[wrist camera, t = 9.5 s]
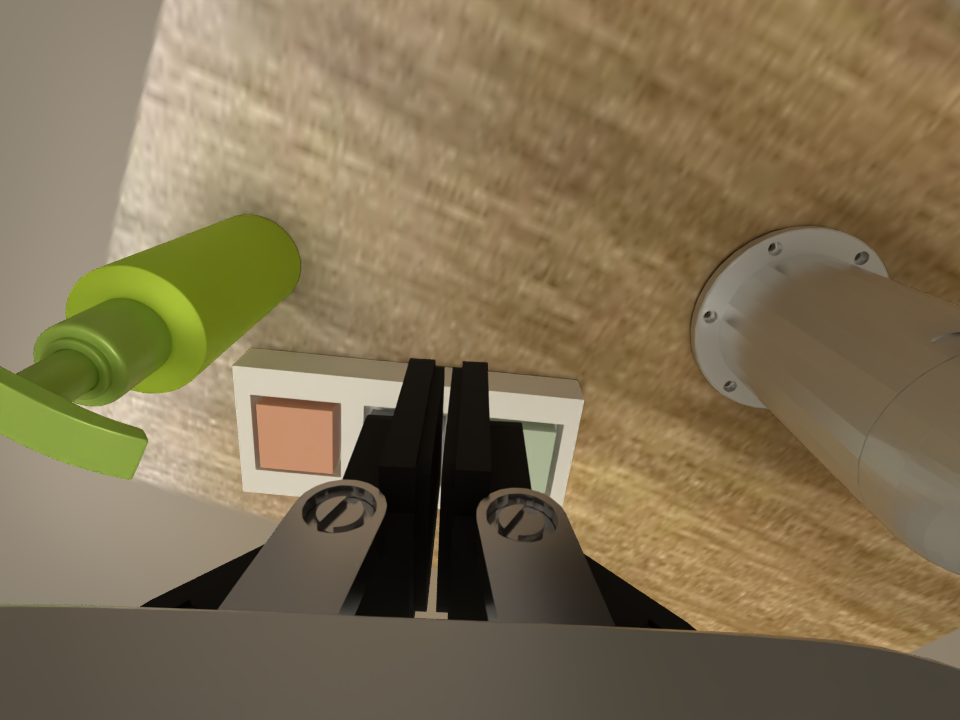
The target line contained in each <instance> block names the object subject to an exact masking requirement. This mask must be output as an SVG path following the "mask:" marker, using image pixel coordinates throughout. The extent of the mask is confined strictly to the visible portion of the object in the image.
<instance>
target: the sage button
mask: <svg viewBox="0 0 960 720" xmlns="http://www.w3.org/2000/svg"><path fill="white" fill-rule="evenodd" d="M490 421H507V422H521V423H522V426H523V432H524V439H525V446H526V453H527V460H528V467H529V474H530V481H531V488H532V490H534V491H538V492H541V493H545V490H546V485H547V480H548V474H549V469H550V464H551V459H552V453H553V448H554V443H555V438H556V429H555V425H554V424H552V423H541V422H531V421H520V420H510V419H500V418H490Z"/></svg>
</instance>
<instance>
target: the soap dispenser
mask: <svg viewBox="0 0 960 720" xmlns="http://www.w3.org/2000/svg"><path fill="white" fill-rule="evenodd" d="M300 270H301V264H300V257H299V253H298V251H297V248H296V246H295V244H294V242H293V241H292V239H291V238H290V236H289V235H288V234H287V233H286V232H285V231H284V230H283V229H282V228H281V227H280V226H278V225H277V224H275V223H274V222H272V221H270V220H268V219H266V218H263V217H260V216H256V215H239V216H235V217H232V218H229V219H226V220H224V221H221V222H219V223H216V224H213V225H211V226H208V227H205V228H203V229H200V230H197V231H195V232H192V233H189V234H187V235H184V236H182V237H179V238H176V239H174V240H171V241H168V242H166V243H163V244H160V245H158V246H155V247H152V248H150V249H147V250H145V251H142V252H139V253H137V254H134V255H131V256H129V257H126V258H123V259H121V260H118V261H115V262H113V263H110V264H107V265H105V266H103V267H100V268H97V269H95V270H92V271H90V272H89V273H87V274H85V275H84V276H83V277H82V278H80V279H79V280H78V281H77V283H76V284H75V285H74V287H73V288H72V290H71V292H70V294H69V297H68V300H67V304H66V320H63V321H62V322H59V323H57V324H55V325H53V326H51V327H49V328H48V329H46V330H45V331H44V332H43V333H42V334H41V335H40V336H39V337H38V339H37V341H36V343H35V346H34V362H35V364H33V365H31V366H29V367H28V368H26V369H24V370H22V371H20V372H18V373H16V374H14V373H12V372H10V371H8V370H6V369H5V368H2V367H1V366H0V434H1V435H3V436H5V437H7V438H9V439H11V440H13V441H15V442H17V443H19V444H21V445H23V446H25V447H27V448H30V449H32V450H34V451H36V452H39V453H41V454H44V455H46V456H48V457H51V458H53V459H56V460H59V461H62V462H64V463H67V464H70V465H73V466H76V467H79V468H83V469H86V470H90V471H93V472H97V473H101V474H105V475H110V476H114V477H118V478H123V479H128V480H129V479H132V478H133V476H134V473H135V471H136V469H137V467H138V465H139V462H140V460H141V458H142V455H143V453H144V451H145V448H146V446H147V443H148V439H147V437H146V434H145V433H144V431H143V430H142V429H140V428H137V427H134V426H131V425H127V424H124V423H121V422H118V421H115V420H112V419H109V418H107V417H104V416H101V415H99V414H96V413H94V412H92V411H89V410H87V409H85V408H82V407H80V406H78V405H76V404H74V403H77V404H80V405H85V406H103V405H107V404H109V403H112V402H114V401H116V400H117V399H119V398H120V397H122V396H123V395H124V394H126V393H127V392H128V391H130V390H133V391H137V392H142V393H165V392H170V391H174V390H176V389H179V388H181V387H183V386H185V385H186V384H188V383H189V382H191V381H192V380H193V379H194V378H195V377H196V376H197V375H199V374H200V373H201V372H202V371H203V370H204V369H205V368H206V367H208V366H209V365H210V364H211V363H212V362H213V361H214V360H216V359H217V358H218V357H219V356H220V355H221V354H222V353H223V352H225V351H226V350H227V349H228V348H229V347H230V346H231V345H232V344H234V343H235V342H236V341H237V340H238V339H239V338H240V337H242V336H243V335H244V334H245V333H246V332H247V331H248V330H249V329H251V328H252V327H253V326H254V325H255V324H256V323H257V322H259V321H260V320H261V319H262V318H263V317H264V316H265V315H266V314H268V313H269V312H270V311H271V310H272V309H273V308H274V307H275V306H277V305H278V304H279V303H280V302H281V301H282V300H283V299H285V298H286V297H287V296H288V295H289V294H290V293H291V292H292V291H293V289H294V288H295V286H296V285H297V282H298V280H299V276H300ZM72 402H74V403H72Z"/></svg>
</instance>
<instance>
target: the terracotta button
mask: <svg viewBox="0 0 960 720" xmlns="http://www.w3.org/2000/svg"><path fill="white" fill-rule="evenodd" d="M256 411H257V425H258V439H259V453H260V467H262V468H273V469H284V470H295V471H306V472H317V473H328V474H333V472H334V470H335V467H336V465H337V463H338V460H339V458H340V403H333V402H322V401H312V400H301V399H291V398H280V397H270V396H262V398H261V399H260V400H259V401H258V403H257V404H256Z"/></svg>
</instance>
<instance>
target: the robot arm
mask: <svg viewBox="0 0 960 720" xmlns="http://www.w3.org/2000/svg"><path fill="white" fill-rule="evenodd" d="M771 244H772V247H771V248H770V249H769V250H768V248H769V246H770V245H771ZM708 311H709V313H708V314H707V315H706V316H704V315H705V313H706V312H708ZM690 337H691V349H692V352H693V355H694V358H695V361H696V364H697V366H698V367H699V369H700V371H701V372H702V374H703V376H704V377H705V378H706V379H707V380H708V381H709V383H710V384H711V385H712V386H713V387H714V388H715V389H716V390H717V391H718V392H720V393H721V394H722V395H723V396H725V397H727V398H729V399H731V400H733V401H735V402H736V403H739V404H742V405H746V406H749V407H753V408H761V409H769V410H770V411H771V412H772V413H773V414H774V415H775V416H776V417H777V418H778V419H779V420H780V421H781V423H782V424H783V425H784V426H785V427H786V428H787V429H788V430H789V431H790V432H791V433H792V434H793V435H794V436H795V437H796V438H797V439H798V440H799V441H800V442H801V443H802V444H803V445H804V446H805V447H806V448H807V449H808V450H809V451H810V452H811V453H812V454H813V455H814V456H815V457H816V458H817V459H818V460H819V461H820V462H821V463H822V464H823V465H824V466H825V467H826V468H827V469H828V470H829V471H830V472H831V473H832V474H833V475H834V476H835V477H836V478H837V479H838V480H839V481H840V482H841V483H842V484H843V485H844V486H845V487H846V488H847V489H848V490H849V491H850V492H851V493H852V494H853V495H854V496H855V497H856V498H857V499H858V500H859V501H860V502H861V503H862V504H863V505H864V506H865V507H866V508H867V509H868V510H869V511H870V512H871V513H872V514H873V515H874V516H875V517H876V518H877V519H878V520H879V521H880V522H881V523H882V524H883V525H884V526H885V527H886V528H887V529H888V530H889V531H890V532H891V533H892V534H893V535H894V536H895V537H896V538H898V539H899V540H900V541H901V542H902V543H903V544H905V545H906V546H907V547H908V548H910V549H911V550H913V551H914V552H915V553H917V554H918V555H920V556H921V557H923V558H924V559H926V560H928V561H930V562H932V563H934V564H936V565H938V566H940V567H942V568H944V569H946V570H948V571H950V572H953V573H955V574H958V575H960V306H958V305H956V304H953V303H951V302H948V301H946V300H943V299H940V298H938V297H935V296H933V295H930V294H927V293H925V292H922V291H920V290H917V289H914V288H912V287H909V286H907V285H904V284H902V283H899V282H896V281H894V280H891V279H890V277H889V275H888V272H887V270H886V267H885V265H884V263H883V262H882V260H881V259H880V258H879V256H878V255H877V254H876V252H875V251H874V250H873V249H872V248H871V247H869V246H868V245H867V244H866V243H864V242H863V241H862V240H860V239H858V238H856V237H854V236H852V235H850V234H848V233H845V232H842V231H839V230H835V229H832V228H828V227H819V226H798V227H789V228H785V229H781V230H778V231H774V232H770V233H768V234H766V235H764V236H761V237H759V238H757V239H755V240H753V241H751V242H749V243H748V244H746V245H745V246H743V247H742V248H740V249H739V250H737V251H736V252H734V253H733V254H732V255H731V256H730V257H729V258H728V259H727V260H726V261H725V262H723V263H722V264H721V265H720V266H719V267H718V269H717V270H716V271H715V272H714V274H713V275H712V276H711V278H710V279H709V280H708V281H707V283H706V285H705V287H704V288H703V290H702V292H701V294H700V296H699V298H698V300H697V303H696V306H695V309H694V312H693V315H692V322H691V330H690ZM444 379H445V367H439V366H436V362H435V360H431V359H413V358H410V360H409V363H408V367H407V370H406V373H405V377H404V380H403V384H402V387H401V391H400V394H399V397H398V401H397V404H396V408H395V411H394V415H393V416H391V415H372V414H369V415H367V416H366V418H365V421H364V424H363V426H362V429H361V431H360V434H359V437H358V439H357V442H356V445H355V447H354V450H353V452H352V455H351V458H350V460H349V463H348V466H347V468H346V471H345V473H344V476H343V479H342V480H336V481H329V482H326V483H323V484H320V485H317V486H315V487H313V488H311V489H310V490H308V491H306V492H305V493H304V494H303V495H302V496H301V497H300V498H299V499H298V500H297V501H296V502H295V503H294V505H293V506H292V507H291V509H290V510H289V511H288V513H287V514H286V516H285V517H284V518H283V520H282V521H281V522H280V524H279V525H278V527H277V528H276V529H275V531H274V532H273V534H272V535H271V536H270V538H269V539H268V540H267V542H266V543H265V544H264V545H262V546H260V547H258V548H256V549H254V550H252V551H250V552H248V553H246V554H244V555H242V556H240V557H238V558H236V559H234V560H232V561H230V562H228V563H225V564H224V565H221V566H219V567H218V568H215V569H213V570H211V571H209V572H207V573H205V574H203V575H201V576H199V577H197V578H195V579H193V580H191V581H189V582H187V583H185V584H183V585H181V586H179V587H177V588H175V589H173V590H170V591H168V592H166V593H165V594H162V595H160V596H158V597H156V598H154V599H152V600H150V601H149V602H147V603H145V604H144V605H142V606H140V607H123V606H96V605H95V606H94V605H68V604H0V720H960V669H959V668H956V667H953V666H951V665H947V664H944V663H942V662H939V661H936V660H932V659H929V658H924V657H920V656H916V655H912V654H908V653H904V652H900V651H896V650H891V649H887V648H883V647H878V646H871V645H865V644H858V643H852V642H845V641H839V640H829V639H816V638H804V637H791V636H779V635H766V634H754V633H736V632H715V631H697V630H696V629H694V628H693V627H692V626H691V625H690V624H688V623H687V622H686V621H684V620H683V619H681V618H680V617H678V616H677V615H675V614H674V613H672V612H671V611H669V610H668V609H666V608H665V607H663V606H662V605H660V604H659V603H657V602H656V601H654V600H653V599H651V598H650V597H648V596H647V595H645V594H644V593H642V592H641V591H639V590H638V589H636V588H635V587H633V586H632V585H630V584H629V583H627V582H626V581H624V580H623V579H621V578H620V577H618V576H617V575H615V574H614V573H612V572H611V571H609V570H608V569H606V568H605V567H603V566H602V565H600V564H599V563H597V562H596V561H594V560H593V559H591V558H590V557H588V556H587V555H585V554H584V553H583V551H582V549H581V547H580V544H579V542H578V540H577V538H576V535H575V533H574V531H573V529H572V526H571V524H570V522H569V519H568V517H567V515H566V513H565V512H564V510H563V509H562V507H561V506H560V505H559V504H558V503H557V502H556V501H554V500H553V499H552V498H551V497H549V496H547V495H545V494H543V493H541V492H538V491H534V490H532V488H531V481H530V474H529V467H528V460H527V453H526V446H525V439H524V432H523V426H522V423H521V422H507V421H490V412H489V384H488V363H486V362H468V361H463V367H462V368H457V367H453V368H452V378H451V387H450V396H449V406H448V415H447V424H446V434H445V443H444V452H443V462H442V476H441V458H442V432H443V405H444ZM440 480H441V497H440V524H439V550H438V577H437V603H436V612H446V613H448V619H426V618H414V616H415V611H424V612H426V611H427V604H428V594H429V585H430V576H431V566H432V557H433V548H434V538H435V529H436V519H437V510H438V501H439V491H440Z"/></svg>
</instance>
